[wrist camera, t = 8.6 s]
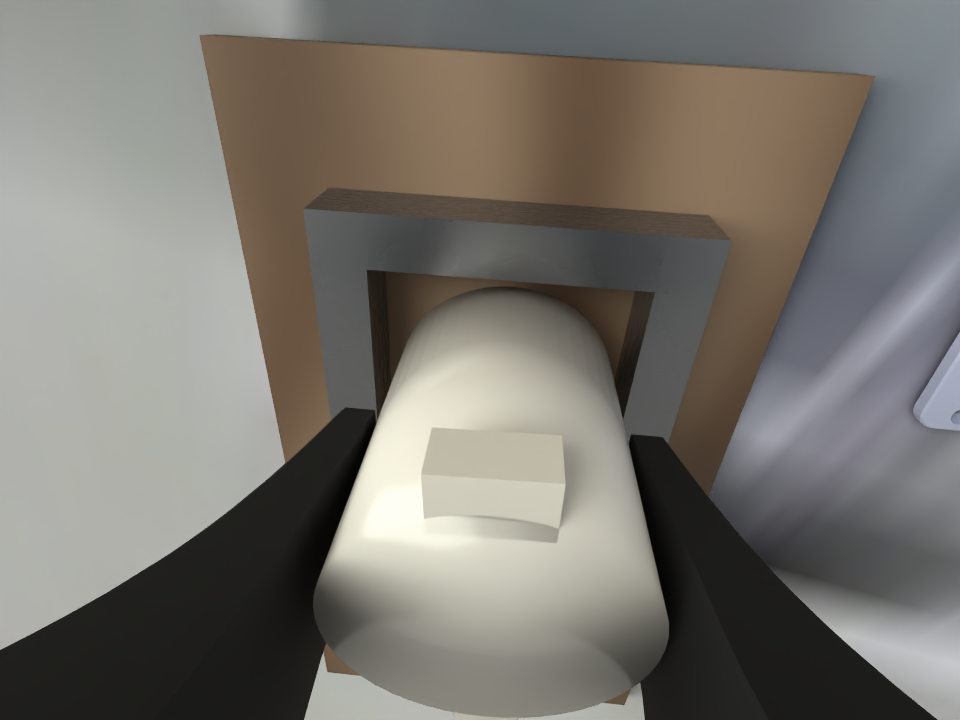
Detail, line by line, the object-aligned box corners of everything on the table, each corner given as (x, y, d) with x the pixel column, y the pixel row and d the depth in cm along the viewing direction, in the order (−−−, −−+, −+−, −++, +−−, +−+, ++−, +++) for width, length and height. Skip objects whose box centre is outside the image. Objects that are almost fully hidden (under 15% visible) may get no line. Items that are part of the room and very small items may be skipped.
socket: (708, 214, 12) (731, 240, 10) (630, 489, 16) (639, 531, 15) (328, 187, 12) (302, 209, 11) (357, 463, 16) (341, 502, 15)
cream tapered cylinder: (391, 254, 11) (271, 464, 6) (632, 265, 11) (724, 494, 6) (415, 543, 16) (362, 789, 11) (578, 555, 16) (602, 814, 11)
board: (858, 74, 10) (875, 75, 10) (622, 690, 23) (624, 705, 23) (214, 34, 11) (199, 34, 10) (331, 658, 24) (327, 672, 23)
